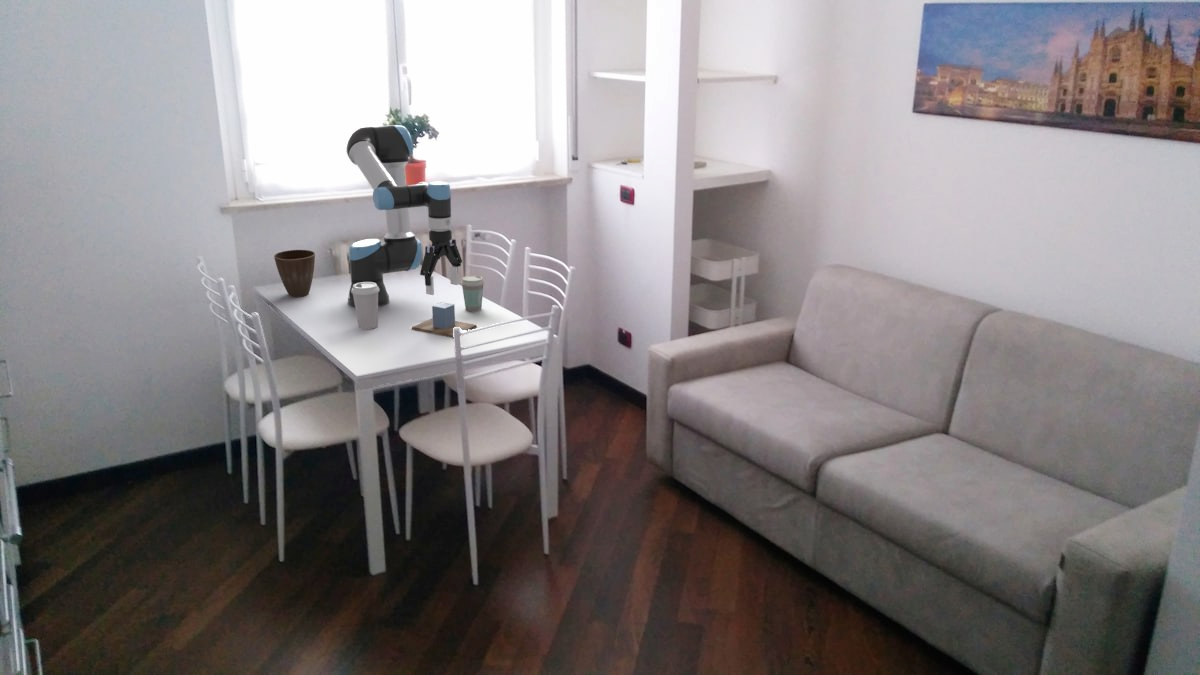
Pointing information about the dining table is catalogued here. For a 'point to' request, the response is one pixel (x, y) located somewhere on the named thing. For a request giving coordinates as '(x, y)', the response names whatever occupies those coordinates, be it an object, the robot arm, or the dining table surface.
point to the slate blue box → (443, 315)
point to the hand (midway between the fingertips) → (442, 289)
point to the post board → (428, 327)
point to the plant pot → (296, 271)
